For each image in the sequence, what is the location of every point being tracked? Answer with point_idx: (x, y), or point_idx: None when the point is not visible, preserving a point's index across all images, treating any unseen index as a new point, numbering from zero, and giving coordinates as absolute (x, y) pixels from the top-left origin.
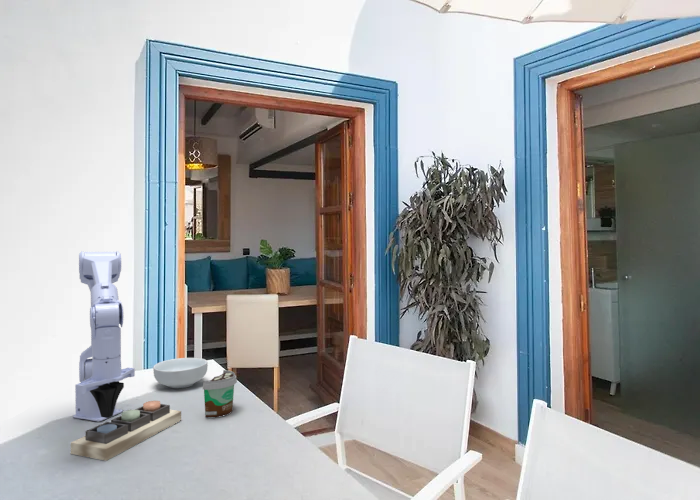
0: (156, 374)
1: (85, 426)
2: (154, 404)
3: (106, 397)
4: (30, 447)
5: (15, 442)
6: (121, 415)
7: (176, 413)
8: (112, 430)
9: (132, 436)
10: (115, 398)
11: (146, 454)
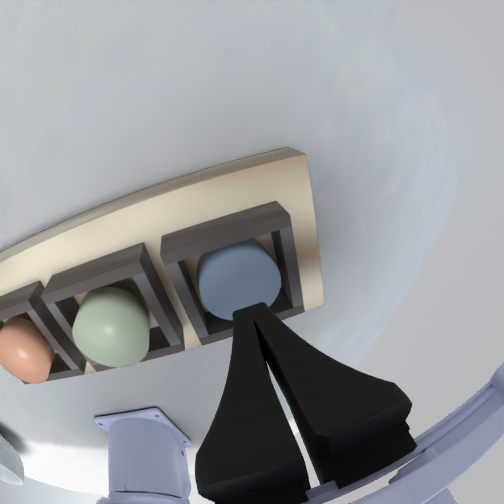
0: (17, 467)
1: (191, 405)
2: (12, 346)
3: (357, 371)
4: None
5: None
6: None
7: None
8: (237, 250)
9: (161, 193)
10: (251, 381)
11: (172, 72)
